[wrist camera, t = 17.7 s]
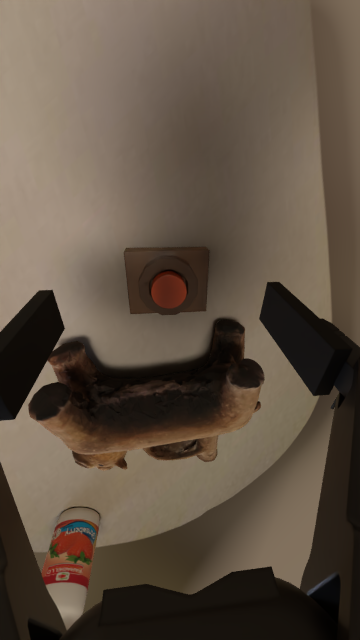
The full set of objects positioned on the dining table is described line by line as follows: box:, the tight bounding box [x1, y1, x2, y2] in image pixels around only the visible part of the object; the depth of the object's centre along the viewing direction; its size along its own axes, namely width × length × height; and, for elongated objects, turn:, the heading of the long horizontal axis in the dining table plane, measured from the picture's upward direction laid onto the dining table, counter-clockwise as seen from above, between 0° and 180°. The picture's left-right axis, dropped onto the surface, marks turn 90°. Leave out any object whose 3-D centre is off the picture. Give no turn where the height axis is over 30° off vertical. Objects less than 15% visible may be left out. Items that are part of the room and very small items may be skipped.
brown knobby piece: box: [28, 320, 264, 470], centre depth 35 cm, size 13×31×25 cm
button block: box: [124, 247, 209, 315], centre depth 29 cm, size 10×8×4 cm
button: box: [151, 271, 187, 309], centre depth 27 cm, size 4×4×2 cm
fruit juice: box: [41, 507, 100, 630], centre depth 43 cm, size 9×9×28 cm
